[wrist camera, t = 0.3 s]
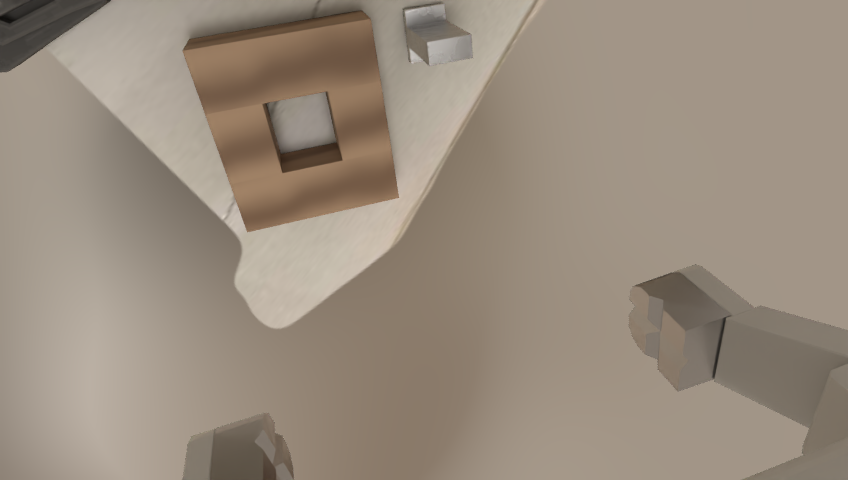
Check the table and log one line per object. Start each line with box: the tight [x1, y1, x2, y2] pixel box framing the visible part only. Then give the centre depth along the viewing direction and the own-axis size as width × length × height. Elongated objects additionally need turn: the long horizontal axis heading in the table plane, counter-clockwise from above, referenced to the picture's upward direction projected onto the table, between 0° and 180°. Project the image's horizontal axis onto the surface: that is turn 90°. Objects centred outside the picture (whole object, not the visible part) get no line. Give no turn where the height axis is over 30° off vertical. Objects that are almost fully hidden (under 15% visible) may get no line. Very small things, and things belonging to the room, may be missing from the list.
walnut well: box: [183, 10, 399, 232], centre depth 51 cm, size 18×16×5 cm
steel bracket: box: [403, 3, 473, 66], centre depth 49 cm, size 5×4×8 cm
